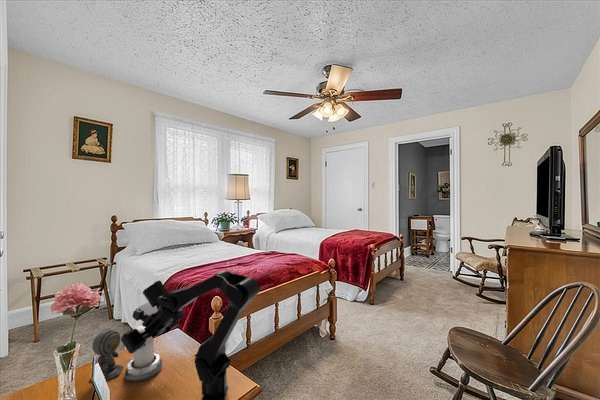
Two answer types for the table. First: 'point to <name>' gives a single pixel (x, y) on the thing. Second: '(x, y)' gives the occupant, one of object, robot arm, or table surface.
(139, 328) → the white domed cylinder
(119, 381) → the table surface
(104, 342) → the figurine
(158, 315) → the robot arm
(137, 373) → the mount
